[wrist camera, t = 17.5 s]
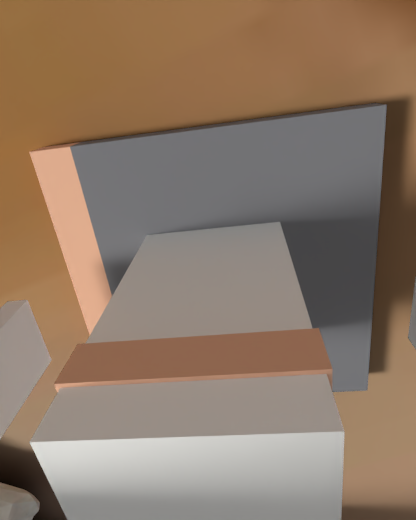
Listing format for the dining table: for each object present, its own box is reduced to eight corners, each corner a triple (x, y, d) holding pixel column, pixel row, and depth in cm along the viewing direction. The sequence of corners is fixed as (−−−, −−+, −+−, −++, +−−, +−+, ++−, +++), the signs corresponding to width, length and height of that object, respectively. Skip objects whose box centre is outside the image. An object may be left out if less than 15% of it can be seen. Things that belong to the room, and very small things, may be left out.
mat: (42, 147, 14) (29, 152, 13) (375, 102, 13) (387, 104, 12) (117, 387, 19) (111, 402, 18) (360, 374, 18) (367, 390, 17)
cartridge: (143, 232, 14) (21, 437, 6) (282, 218, 14) (351, 427, 5) (167, 342, 16) (102, 599, 8) (288, 334, 16) (343, 604, 8)
